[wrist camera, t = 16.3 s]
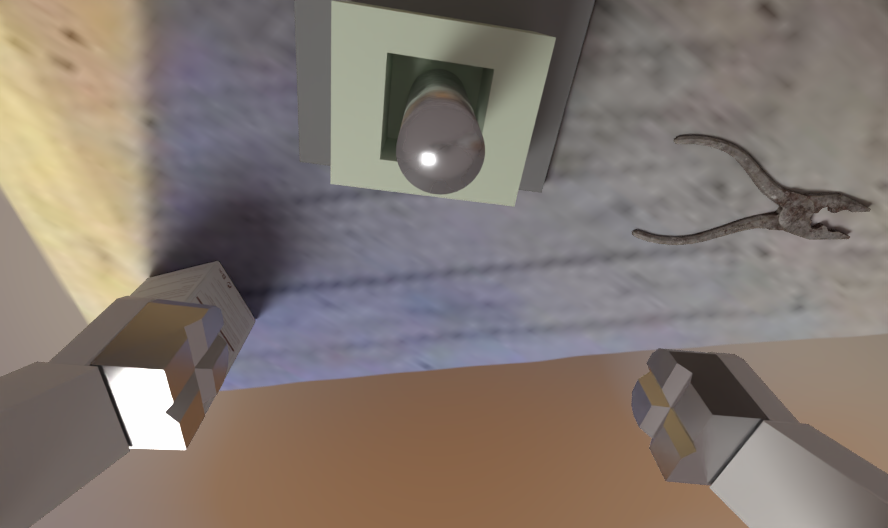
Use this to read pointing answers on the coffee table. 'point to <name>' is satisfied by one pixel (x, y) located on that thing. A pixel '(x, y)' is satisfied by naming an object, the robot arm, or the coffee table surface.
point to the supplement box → (205, 301)
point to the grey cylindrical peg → (439, 135)
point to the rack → (392, 75)
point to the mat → (498, 3)
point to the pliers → (791, 204)
